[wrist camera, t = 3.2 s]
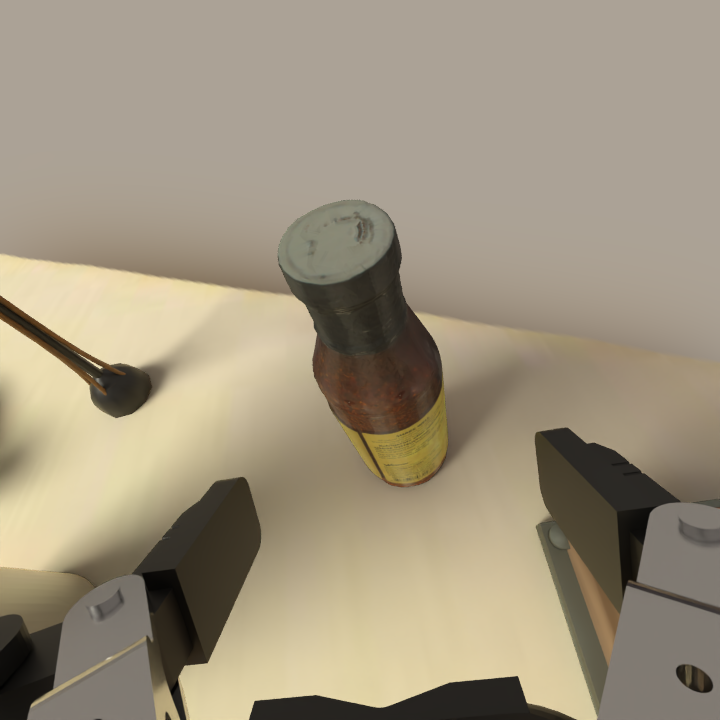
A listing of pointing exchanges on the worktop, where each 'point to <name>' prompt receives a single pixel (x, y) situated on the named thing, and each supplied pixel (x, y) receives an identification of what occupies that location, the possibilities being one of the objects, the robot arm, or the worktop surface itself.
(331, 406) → the sauce bottle
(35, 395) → the worktop surface
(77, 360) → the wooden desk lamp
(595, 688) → the copper and grey block
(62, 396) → the worktop surface
